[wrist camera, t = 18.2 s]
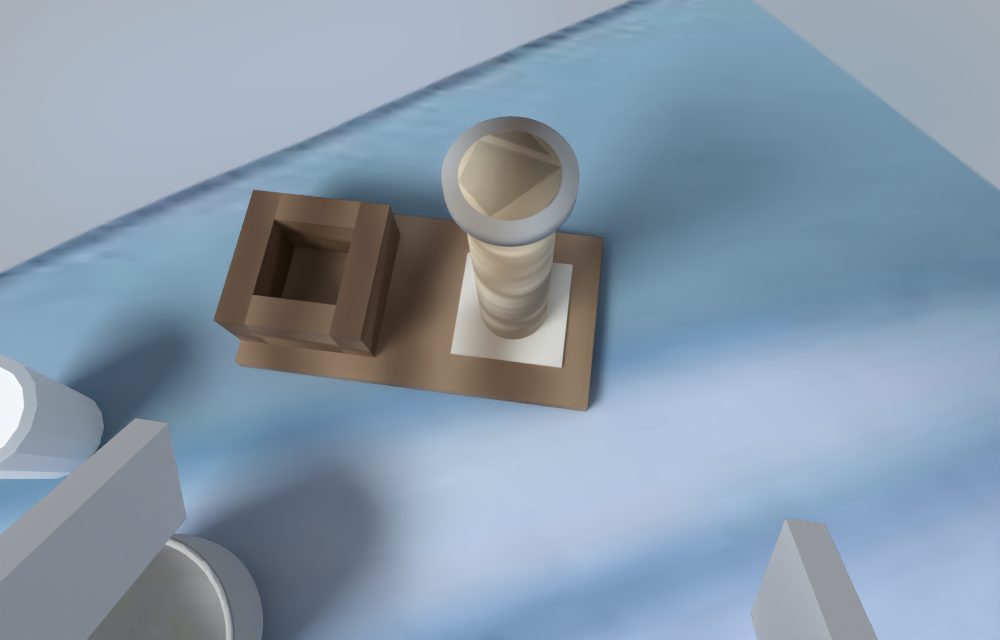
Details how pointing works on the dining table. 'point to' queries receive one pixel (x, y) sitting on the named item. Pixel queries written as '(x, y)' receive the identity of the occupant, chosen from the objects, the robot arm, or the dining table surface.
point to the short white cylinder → (43, 425)
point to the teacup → (188, 597)
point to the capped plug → (511, 214)
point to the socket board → (399, 304)
